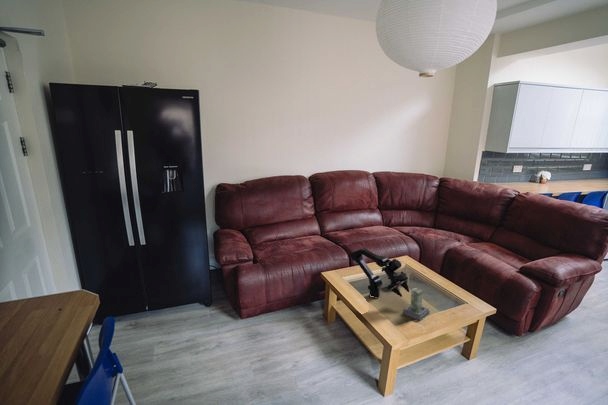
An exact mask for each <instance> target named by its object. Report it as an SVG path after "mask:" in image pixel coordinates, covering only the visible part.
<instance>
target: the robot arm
mask: <svg viewBox="0 0 608 405" xmlns="http://www.w3.org/2000/svg"><path fill="white" fill-rule="evenodd" d="M363 256H364V257H366V258H367V259H370V260H372V261H373V262H375V264H376V265H377V267H380V268H381V273H382V272H384V273H385V274H386V275H387V280H391V281H392V283H391V281H390V284H388V285H387V286H386V289H387V290H388V291H389V292H392V293H394V294H395V295H398V296H399V297H403V295H402V293H401V292H400V289H399V286H401V287H402V288H403V289H404V290H405V291H406V292H408V293H411V290H410V288H409V286H408V281H409V280H408V279H409V277H408V276H407V272H406V271H405V270H403V271H401V272H400V273H398V272H396V271H397V270H399V269H400V268H401V267H402V262H401V261H400V260H398V259H396V258H393V259H390V258H388V257H386V256H383V255H378V254H376V253H375V252H372V251H370V250H368V249H367V248H364V247H362V248H359V249H357V250H354V251H351V252H350V253H349V257H350V259H351V260H352V262H355V263H357V264H358V265H359V267H360V269H361V270H362V272H363V273H364V275H365V276H366V277H367V278H368V284H369V285H368V286H367V289H368V290H369V295H370V294H371V296H374V297H378V298H379V297H380V295H381V292H380V291H381V290H380V289H381V287H382V286H383V281H382V278H381V277H380V276H379V275H375V274H374V272H373V271H372V270H371V268H370V267H369V266H368V264H367V263H366V261H365V260H364V258H363ZM399 283H400V285H399V286H396V285H397V284H399Z"/></svg>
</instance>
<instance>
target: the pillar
mask: <svg viewBox="0 0 608 405" xmlns="http://www.w3.org/2000/svg"><path fill="white" fill-rule="evenodd" d="M410 304H411V310H412V311H415V312H417V313H419V312H420V311H421V310H422V306H423V289H419V288H417V287H414V288H413V289H411V290H410Z"/></svg>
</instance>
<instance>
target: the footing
mask: <svg viewBox="0 0 608 405" xmlns="http://www.w3.org/2000/svg"><path fill="white" fill-rule="evenodd" d="M403 308H404V309H403V310H402V314H403V315H405V316H408V317H410V318H411V319H415V320H416V321H419V322H421V321H422V320H424V319H425V318H426V317H427V316H429V315H430V312H431V310H430V309H429V308H428V307H426V306H423V305H422V310H421V311H420V312H419V313H417V312H415V311H412V310H411V303H410V304H409V305H407V306H406V307H403ZM423 318H424V319H423Z"/></svg>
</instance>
